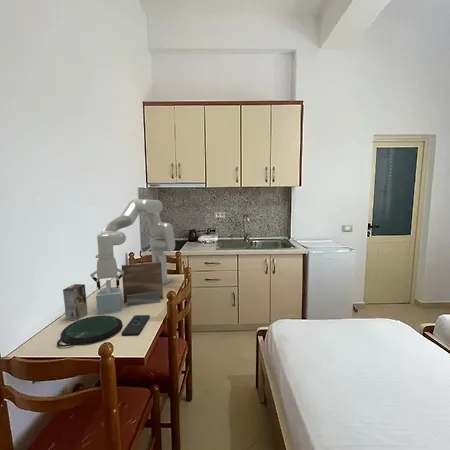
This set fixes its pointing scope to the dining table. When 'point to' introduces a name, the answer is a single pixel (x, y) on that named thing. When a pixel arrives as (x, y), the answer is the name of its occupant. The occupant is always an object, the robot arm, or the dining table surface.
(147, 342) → the dining table surface
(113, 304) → the block with top knob
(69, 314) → the coffee box
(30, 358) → the dining table surface
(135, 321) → the smart home device
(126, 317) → the dining table surface
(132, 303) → the wall board
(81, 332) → the dark green flat disc
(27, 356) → the dining table surface
